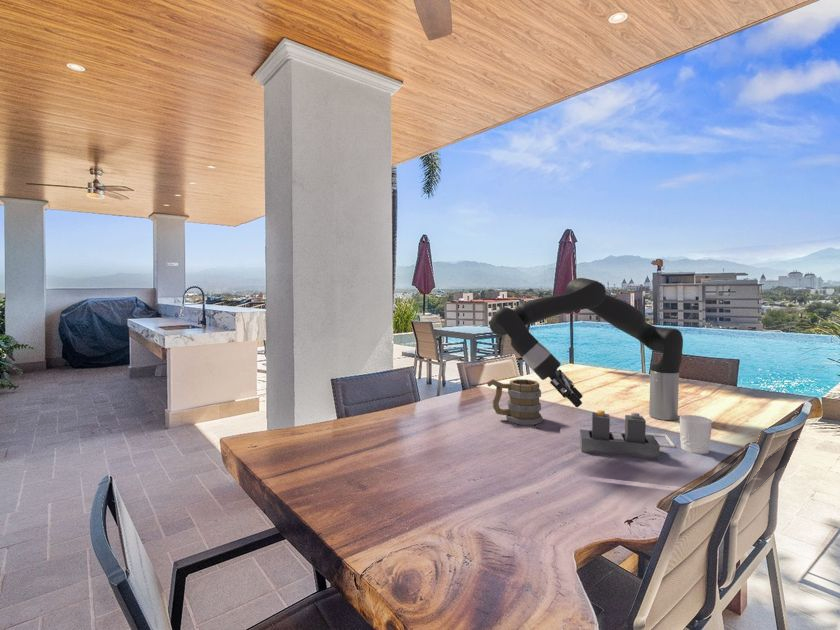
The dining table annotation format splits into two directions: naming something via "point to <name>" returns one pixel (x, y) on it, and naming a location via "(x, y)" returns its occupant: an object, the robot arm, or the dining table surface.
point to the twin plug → (635, 428)
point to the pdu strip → (619, 445)
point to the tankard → (519, 401)
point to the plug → (600, 425)
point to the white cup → (695, 433)
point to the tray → (665, 437)
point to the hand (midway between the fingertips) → (580, 401)
